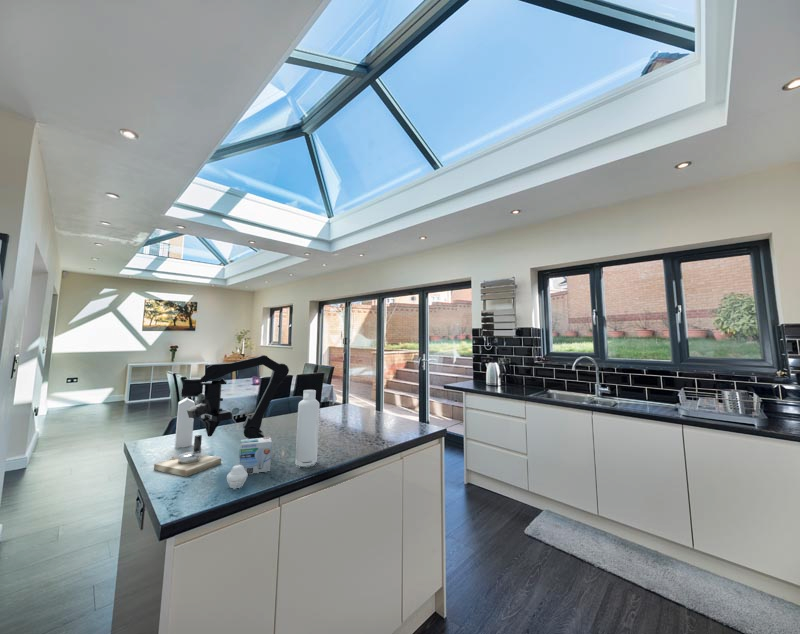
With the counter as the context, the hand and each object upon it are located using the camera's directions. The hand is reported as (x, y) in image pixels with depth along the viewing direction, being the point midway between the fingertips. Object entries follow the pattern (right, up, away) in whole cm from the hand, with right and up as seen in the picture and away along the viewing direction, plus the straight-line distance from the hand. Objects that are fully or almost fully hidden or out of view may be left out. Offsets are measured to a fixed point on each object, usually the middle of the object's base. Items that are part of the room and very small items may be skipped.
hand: (209, 436), depth 128 cm
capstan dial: (-4, -7, -4) cm, 9 cm away
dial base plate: (-4, -9, -7) cm, 12 cm away
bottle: (+38, -10, -2) cm, 40 cm away
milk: (-22, -11, +17) cm, 30 cm away
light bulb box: (+22, -9, -10) cm, 25 cm away
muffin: (+22, -8, -23) cm, 33 cm away
